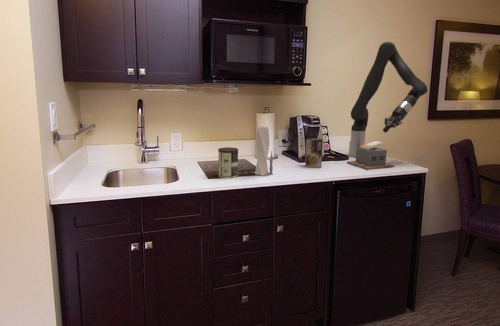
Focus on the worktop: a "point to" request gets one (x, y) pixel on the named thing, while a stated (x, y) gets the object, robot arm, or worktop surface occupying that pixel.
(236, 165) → the coffee can
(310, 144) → the coffee box
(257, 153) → the skyscraper
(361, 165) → the base board
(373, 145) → the rocker
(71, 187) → the worktop surface
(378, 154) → the switch block
